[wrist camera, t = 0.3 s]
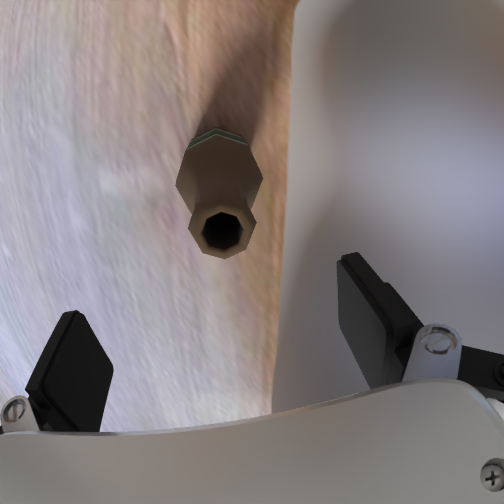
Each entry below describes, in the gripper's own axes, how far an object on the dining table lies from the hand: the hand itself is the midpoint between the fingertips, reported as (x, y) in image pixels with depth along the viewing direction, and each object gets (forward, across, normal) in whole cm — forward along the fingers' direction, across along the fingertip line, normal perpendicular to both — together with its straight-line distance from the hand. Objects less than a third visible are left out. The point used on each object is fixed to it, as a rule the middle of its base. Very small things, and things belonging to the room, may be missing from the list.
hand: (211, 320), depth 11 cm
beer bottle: (+31, -1, 0) cm, 31 cm away
